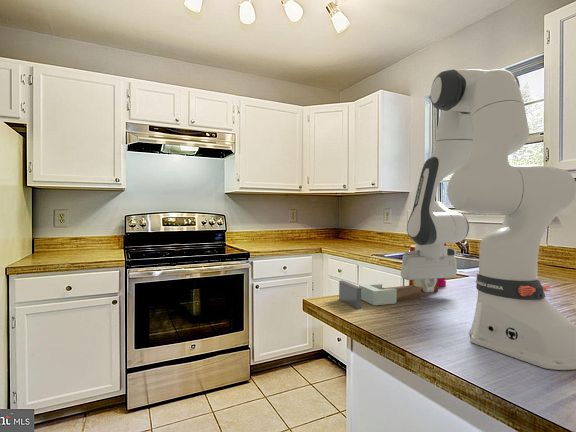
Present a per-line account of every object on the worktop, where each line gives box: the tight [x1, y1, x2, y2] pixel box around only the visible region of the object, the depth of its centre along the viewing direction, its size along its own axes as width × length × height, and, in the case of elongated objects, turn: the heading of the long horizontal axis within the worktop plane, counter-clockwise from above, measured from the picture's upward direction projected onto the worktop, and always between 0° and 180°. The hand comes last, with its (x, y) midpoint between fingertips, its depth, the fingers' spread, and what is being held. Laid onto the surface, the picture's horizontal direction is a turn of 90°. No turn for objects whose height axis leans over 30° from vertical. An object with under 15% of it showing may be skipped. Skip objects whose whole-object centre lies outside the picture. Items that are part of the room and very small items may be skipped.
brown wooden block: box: [382, 285, 422, 303], centre depth 111 cm, size 4×12×4 cm, turn 111°
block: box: [358, 283, 397, 306], centre depth 109 cm, size 9×8×4 cm
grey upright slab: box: [338, 280, 362, 310], centre depth 105 cm, size 11×2×6 cm, turn 19°
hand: (428, 291), depth 115 cm, fingers closed
